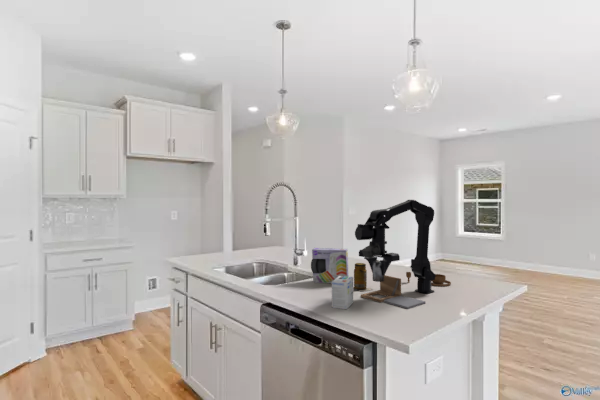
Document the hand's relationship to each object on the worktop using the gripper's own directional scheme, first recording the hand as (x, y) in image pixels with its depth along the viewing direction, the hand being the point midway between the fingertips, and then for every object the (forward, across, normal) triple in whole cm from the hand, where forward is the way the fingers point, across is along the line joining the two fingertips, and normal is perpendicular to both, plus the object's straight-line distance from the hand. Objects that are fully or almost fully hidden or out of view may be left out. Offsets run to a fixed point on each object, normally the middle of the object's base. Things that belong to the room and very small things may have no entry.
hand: (378, 274), depth 160 cm
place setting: (+11, -2, +42) cm, 44 cm away
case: (+10, 0, +2) cm, 10 cm away
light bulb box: (+10, -2, -20) cm, 22 cm away
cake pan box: (+10, -34, +2) cm, 36 cm away
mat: (+10, +12, +2) cm, 16 cm away
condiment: (+10, -15, +5) cm, 19 cm away
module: (+3, 0, 0) cm, 3 cm away
